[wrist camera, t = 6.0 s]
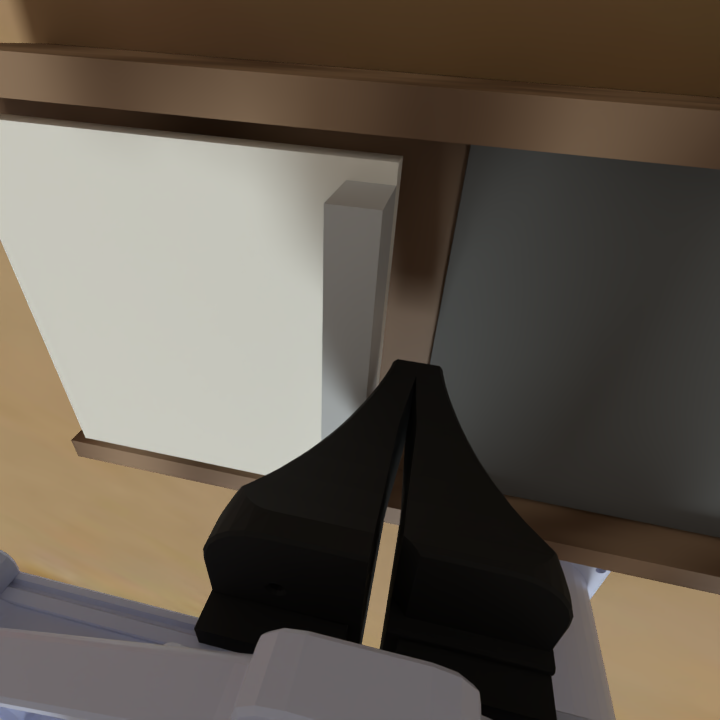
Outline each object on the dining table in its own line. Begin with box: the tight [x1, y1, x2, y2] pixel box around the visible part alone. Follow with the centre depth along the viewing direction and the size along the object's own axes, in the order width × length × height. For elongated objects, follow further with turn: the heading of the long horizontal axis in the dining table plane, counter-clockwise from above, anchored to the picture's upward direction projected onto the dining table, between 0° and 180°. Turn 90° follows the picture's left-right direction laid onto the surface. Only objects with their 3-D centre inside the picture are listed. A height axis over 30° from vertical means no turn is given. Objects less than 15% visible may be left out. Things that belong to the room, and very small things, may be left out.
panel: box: [430, 145, 720, 538], centre depth 14 cm, size 13×13×1 cm
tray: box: [0, 43, 720, 595], centre depth 15 cm, size 28×15×5 cm, turn 87°
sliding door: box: [0, 113, 403, 475], centre depth 14 cm, size 12×12×3 cm
